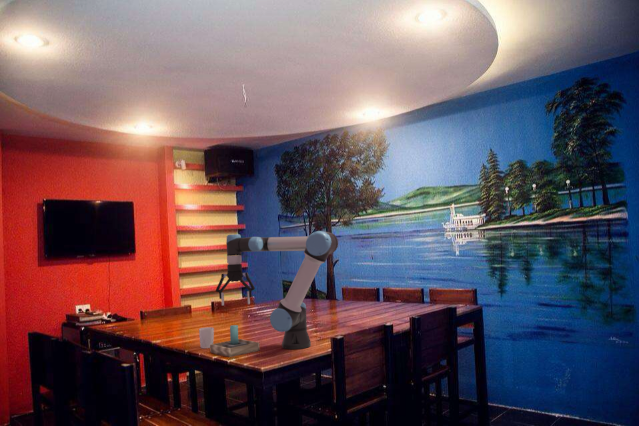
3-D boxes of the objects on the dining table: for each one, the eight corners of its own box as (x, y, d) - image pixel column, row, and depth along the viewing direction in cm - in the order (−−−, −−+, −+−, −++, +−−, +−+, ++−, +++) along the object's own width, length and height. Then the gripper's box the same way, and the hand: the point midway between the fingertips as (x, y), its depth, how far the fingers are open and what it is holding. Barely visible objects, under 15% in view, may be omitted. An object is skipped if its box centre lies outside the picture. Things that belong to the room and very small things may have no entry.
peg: (240, 349, 240) (239, 325, 241) (233, 350, 237) (232, 326, 238) (235, 348, 243) (235, 324, 244) (229, 349, 240) (228, 325, 241)
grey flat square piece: (259, 350, 240) (259, 342, 240) (229, 357, 227) (229, 348, 228) (239, 346, 253) (239, 338, 253) (210, 352, 240) (210, 344, 241)
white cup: (215, 345, 259) (215, 327, 259) (212, 348, 251) (212, 329, 252) (201, 346, 258) (200, 327, 259) (197, 349, 250) (197, 330, 251)
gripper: (259, 262, 250) (260, 302, 249) (212, 264, 250) (213, 305, 248) (257, 262, 243) (258, 304, 241) (209, 265, 243) (210, 306, 241)
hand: (235, 304), depth 245 cm, fingers open, 13 cm apart
